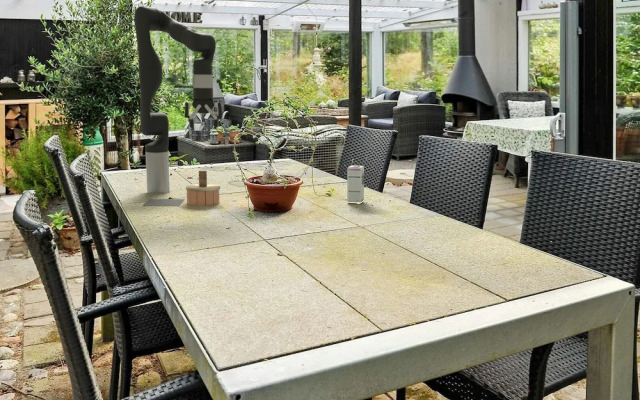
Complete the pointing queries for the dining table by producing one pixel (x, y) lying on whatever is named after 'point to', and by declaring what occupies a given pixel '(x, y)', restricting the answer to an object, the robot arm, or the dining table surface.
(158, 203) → the mat
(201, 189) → the lid
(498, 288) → the dining table surface
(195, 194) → the bowl
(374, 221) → the dining table surface
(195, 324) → the dining table surface
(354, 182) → the syrup box
